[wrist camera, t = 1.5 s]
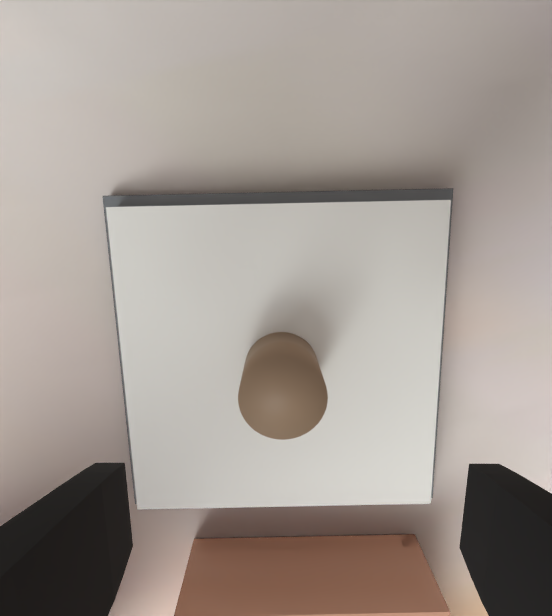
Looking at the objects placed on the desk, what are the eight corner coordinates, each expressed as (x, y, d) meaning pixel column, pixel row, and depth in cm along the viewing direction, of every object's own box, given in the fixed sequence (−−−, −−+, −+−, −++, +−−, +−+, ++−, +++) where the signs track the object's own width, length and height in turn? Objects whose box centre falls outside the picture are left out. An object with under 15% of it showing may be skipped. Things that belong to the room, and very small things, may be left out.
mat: (139, 495, 19) (135, 504, 18) (109, 197, 16) (102, 195, 15) (427, 489, 19) (432, 497, 18) (446, 189, 16) (453, 188, 15)
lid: (145, 494, 18) (109, 567, 14) (116, 208, 16) (63, 201, 12) (422, 488, 18) (462, 560, 14) (439, 201, 16) (495, 192, 12)
